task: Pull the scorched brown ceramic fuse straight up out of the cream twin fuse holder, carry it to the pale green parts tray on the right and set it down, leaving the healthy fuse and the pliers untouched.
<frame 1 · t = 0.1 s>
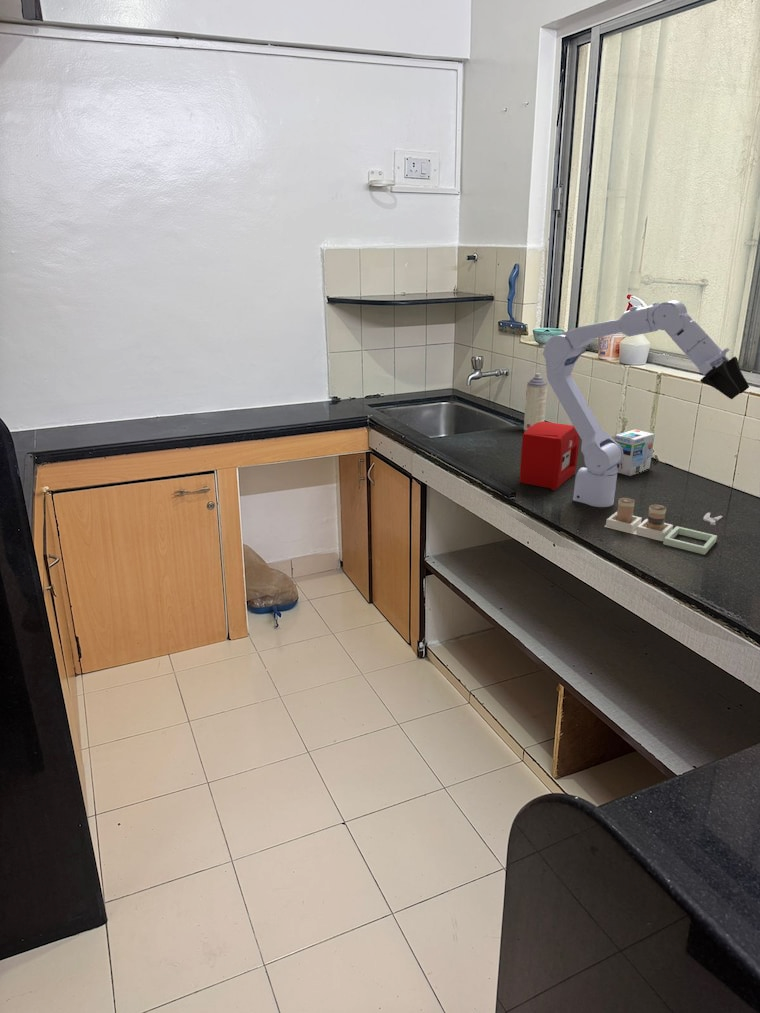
hand: (740, 393, 147), 32 cm above the worktop, tool tilted 50°, fingers open, 7 cm apart
aerosol can: (533, 431, 242), on the worktop
fire alarm: (548, 479, 194), on the worktop
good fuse: (623, 524, 161), point 1 cm above the worktop, touching fuse holder
pliers: (703, 530, 161), on the worktop
blown fuse: (654, 532, 157), point 1 cm above the worktop, touching fuse holder
fuse holder: (638, 531, 159), on the worktop
light bulb box: (629, 470, 202), on the worktop
parts tray: (689, 546, 152), on the worktop
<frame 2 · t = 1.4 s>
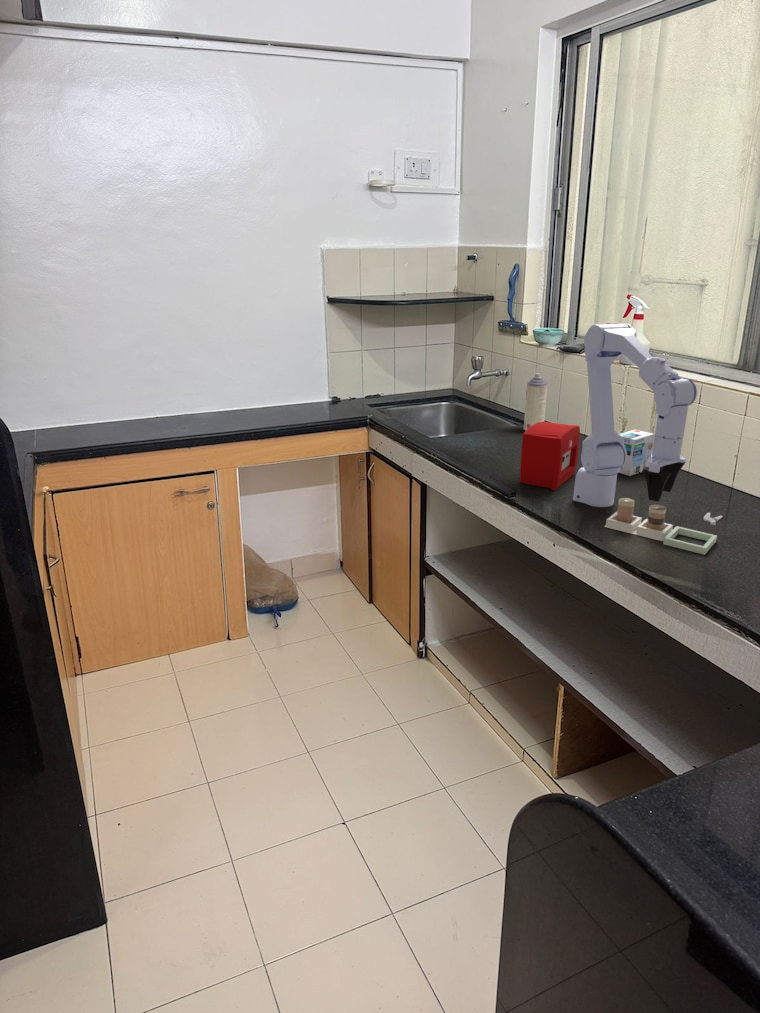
hand: (659, 495, 153), 10 cm above the worktop, tool pointing down, fingers open, 7 cm apart
nothing on the worktop moved.
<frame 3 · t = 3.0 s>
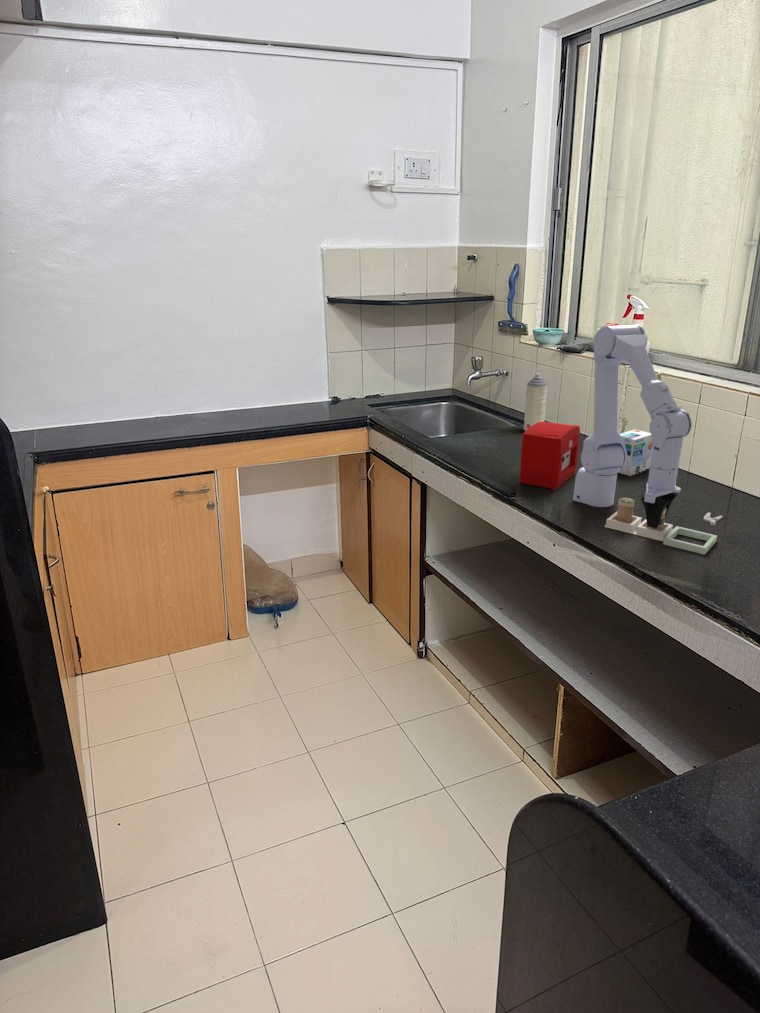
hand: (655, 524, 156), 3 cm above the worktop, tool pointing down, fingers closed on blown fuse, 3 cm apart
blown fuse: (654, 532, 157), point 1 cm above the worktop, touching fuse holder, gripper
everything else where it was.
when the fingers open (4 cm above the worktop, at t = 6.5 s): blown fuse drops 1 cm, resting on parts tray.
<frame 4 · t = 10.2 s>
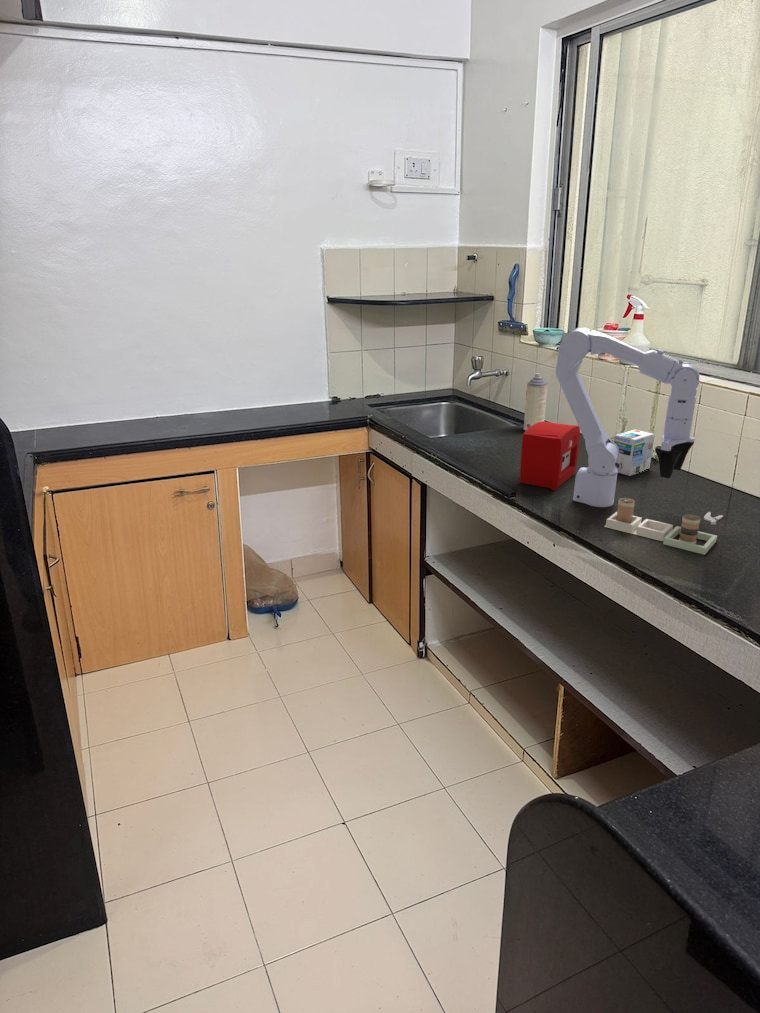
hand: (670, 473, 166), 10 cm above the worktop, tool pointing down, fingers open, 7 cm apart
blown fuse: (687, 543, 152), point 1 cm above the worktop, touching parts tray
everything else where it was.
at the end: blown fuse inside the target area on the parts tray (0.5 cm from its centre), point 0.6 cm above the parts tray's base; the gripper is holding nothing; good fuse moved 0.0 cm from its start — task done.
